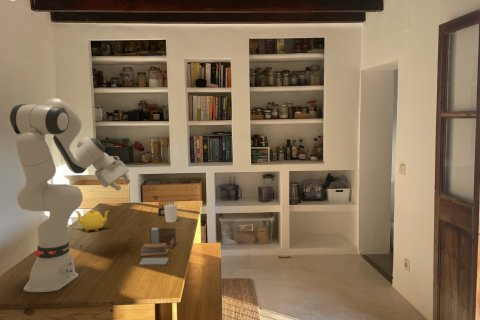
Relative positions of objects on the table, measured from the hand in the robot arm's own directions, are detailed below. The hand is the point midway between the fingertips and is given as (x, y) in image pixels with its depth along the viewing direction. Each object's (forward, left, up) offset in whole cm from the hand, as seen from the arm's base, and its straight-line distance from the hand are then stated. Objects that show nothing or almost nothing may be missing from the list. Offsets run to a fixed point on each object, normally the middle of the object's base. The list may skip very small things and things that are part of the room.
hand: (124, 186), depth 214 cm
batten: (0, -14, -32) cm, 35 cm away
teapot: (+39, +29, -32) cm, 58 cm away
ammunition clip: (+69, -9, -32) cm, 76 cm away
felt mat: (-20, -17, -32) cm, 41 cm away
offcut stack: (-9, -15, -32) cm, 36 cm away
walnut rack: (+4, -17, -32) cm, 36 cm away
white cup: (+54, -14, -32) cm, 64 cm away
